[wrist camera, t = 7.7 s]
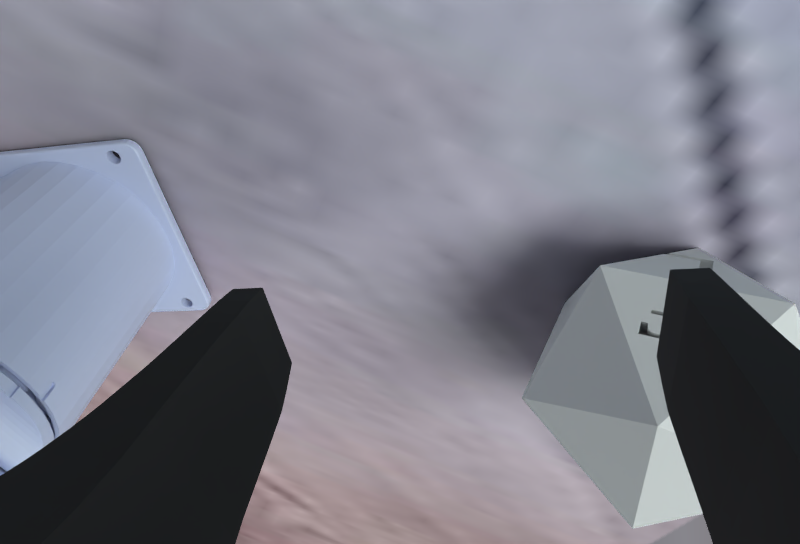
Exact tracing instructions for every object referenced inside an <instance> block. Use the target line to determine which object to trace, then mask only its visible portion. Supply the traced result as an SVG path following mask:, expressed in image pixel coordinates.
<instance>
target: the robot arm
mask: <svg viewBox="0 0 800 544" xmlns="http://www.w3.org/2000/svg"><path fill="white" fill-rule="evenodd" d="M112 151H115V152H116V153H118V154H119V156H120V158H121V159H120V158H118V157H116V156H115V155H114V154H113V152H112ZM186 298H187V299H189V300H191V301H189V300H187V299H186ZM210 303H211V296H210V294H209V292H208V290H207V287H206V285H205V283H204V281H203V279H202V277H201V274H200V272H199V270H198V268H197V266H196V264H195V262H194V259H193V257H192V255H191V253H190V251H189V249H188V247H187V244H186V242H185V240H184V238H183V236H182V234H181V231H180V229H179V227H178V225H177V223H176V221H175V219H174V216H173V214H172V212H171V210H170V208H169V206H168V203H167V201H166V199H165V197H164V195H163V193H162V191H161V188H160V186H159V184H158V182H157V180H156V178H155V176H154V173H153V171H152V169H151V167H150V165H149V163H148V160H147V158H146V156H145V154H144V152H143V150H142V148H141V147H140V146H139V145H138V144H137V143H136V142H134V141H132V140H129V139H120V140H111V141H101V142H92V143H82V144H72V145H63V146H53V147H43V148H34V149H24V150H14V151H5V152H0V544H235V543H236V539H237V536H238V533H239V530H240V527H241V524H242V520H243V517H244V515H245V512H246V509H247V506H248V504H249V501H250V498H251V495H252V493H253V490H254V487H255V484H256V482H257V479H258V476H259V473H260V471H261V468H262V465H263V462H264V460H265V457H266V454H267V451H268V449H269V446H270V443H271V440H272V437H273V435H274V432H275V429H276V426H277V423H278V420H279V417H280V414H281V411H282V407H283V403H284V399H285V394H286V390H287V385H288V380H289V375H290V370H291V365H292V362H291V360H290V357H289V354H288V352H287V349H286V347H285V344H284V342H283V339H282V336H281V334H280V331H279V329H278V326H277V324H276V321H275V319H274V316H273V313H272V311H271V308H270V306H269V303H268V301H267V298H266V295H265V293H264V290H263V288H248V289H233V290H231V291H230V292H229V293H228V294H226V295H225V296H224V297H223V298H222V299H220V300H219V301H218V302H217V303H216V304H215V305H214V306H213V307H211V308H210V309H209V310H208V311H207V312H206V313H205V314H204V315H203V316H201V317H200V318H199V319H198V320H197V321H196V322H195V323H194V324H193V325H192V326H191V327H189V328H188V329H187V330H186V331H185V332H184V333H183V334H182V335H181V336H180V337H178V338H177V339H176V340H175V341H174V342H173V343H172V344H171V345H170V346H169V347H167V348H166V349H165V350H164V351H163V352H162V353H161V354H160V355H159V356H157V357H156V358H155V359H154V360H153V361H152V362H151V363H150V364H149V365H147V366H146V367H145V368H144V369H143V370H142V371H140V372H139V373H138V374H137V375H136V376H134V377H133V378H132V379H131V380H130V381H128V382H127V383H126V384H125V385H124V386H122V387H121V388H120V389H119V390H118V391H116V392H115V393H114V394H113V395H112V396H110V397H109V398H108V399H107V400H106V401H105V402H103V403H102V404H101V405H100V406H98V407H97V408H96V409H95V410H93V411H92V412H91V413H90V414H88V415H87V416H86V417H84V418H83V419H82V420H80V421H79V422H78V423H76V421H77V420H78V418H79V417H80V416H81V414H82V413H83V411H84V410H85V408H86V407H87V405H88V404H89V402H90V401H91V399H92V398H93V396H94V395H95V393H96V392H97V391H98V389H99V388H100V386H101V385H102V383H103V382H104V380H105V379H106V377H107V376H108V374H109V373H110V371H111V370H112V368H113V367H114V366H115V364H116V363H117V361H118V360H119V358H120V357H121V355H122V354H123V352H124V351H125V349H126V348H127V346H128V345H129V343H130V342H131V341H132V339H133V338H134V336H135V335H136V333H137V332H138V330H139V329H140V327H141V326H142V324H143V323H144V321H145V320H146V319H147V317H148V316H149V314H150V313H151V312H164V311H190V310H204V309H206V308H208V306H209V305H210ZM657 362H658V367H659V372H660V377H661V382H662V387H663V392H664V396H665V401H666V405H667V410H668V413H669V416H670V419H671V422H672V425H673V428H674V431H675V434H676V437H677V440H678V443H679V446H680V449H681V452H682V455H683V458H684V460H685V463H686V466H687V469H688V472H689V475H690V478H691V481H692V483H693V486H694V489H695V492H696V495H697V498H698V501H699V504H700V507H701V509H702V512H703V515H704V518H705V521H706V524H707V527H708V530H709V532H710V535H711V539H712V542H713V544H800V350H799V349H798V348H797V347H795V346H794V345H793V344H792V343H791V342H790V341H789V340H787V339H786V338H785V337H784V336H783V335H782V334H781V333H780V332H779V331H777V330H776V329H775V328H774V327H773V326H772V325H771V324H770V323H769V322H768V321H766V320H765V319H764V318H763V317H762V316H761V315H760V314H759V313H758V312H757V311H756V310H755V309H754V308H752V307H751V306H750V305H749V304H748V303H747V302H746V301H745V300H744V299H743V298H742V297H741V296H740V295H739V294H738V293H737V292H736V291H735V290H733V289H732V288H731V287H730V286H729V285H728V284H727V283H726V282H725V281H724V280H723V279H722V278H721V277H720V276H719V275H717V274H716V273H715V272H714V271H713V270H712V269H711V268H694V269H671V270H670V273H669V279H668V285H667V292H666V298H665V305H664V311H663V318H662V324H661V331H660V337H659V344H658V350H657ZM75 423H76V424H75ZM74 424H75V425H74Z"/></svg>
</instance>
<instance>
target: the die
mask: <svg viewBox="0 0 800 544" xmlns="http://www.w3.org/2000/svg"><path fill="white" fill-rule="evenodd" d="M694 268H711V269H712V270H713V271H714V272H715V273H716V274H717V275H719V276H720V277H721V278H722V279H723V280H724V281H725V282H726V283H727V284H728V285H729V286H730V287H731V288H732V289H733V290H735V291H736V292H737V293H738V294H739V295H740V296H741V297H742V298H743V299H744V300H745V301H746V302H747V303H748V304H749V305H750V306H751V307H752V308H754V309H755V310H756V311H757V312H758V313H759V314H760V315H761V316H762V317H763V318H764V319H765V320H766V321H768V322H769V323H770V324H771V325H772V326H773V327H774V328H775V329H776V330H777V331H779V332H780V333H781V334H782V335H783V336H784V337H785V338H786V339H787V340H789V341H790V342H791V343H792V344H793V345H794V346H795V347H797V348H798V349H799V350H800V317H799V314H798V311H797V308H796V305H795V303H793V302H791V301H789V300H788V299H786V298H784V297H782V296H781V295H779V294H777V293H776V292H774V291H772V290H770V289H769V288H767V287H765V286H764V285H762V284H760V283H758V282H757V281H755V280H753V279H751V278H750V277H748V276H746V275H745V274H743V273H741V272H739V271H738V270H736V269H734V268H732V267H731V266H729V265H727V264H726V263H724V262H722V261H720V260H719V259H717V258H715V257H714V256H712V255H710V254H708V253H707V252H705V251H703V250H701V249H700V248H695V249H690V250H684V251H678V252H673V253H669V254H661V255H656V256H650V257H644V258H639V259H633V260H627V261H622V262H616V263H610V264H605V265H600V266H599V267H598V268H597V269H596V270H595V271H594V272H593V274H592V275H591V276H590V277H589V278H588V279H587V280H586V281H585V282H584V283H583V284H582V285H581V286H580V287H579V288H578V290H577V291H576V292H575V293H574V294H573V295H572V296H571V297H570V298H569V299H568V300H567V301H566V302H565V304H564V306H563V308H562V310H561V312H560V315H559V317H558V319H557V321H556V324H555V326H554V328H553V330H552V332H551V335H550V337H549V339H548V341H547V343H546V346H545V348H544V350H543V352H542V354H541V357H540V359H539V361H538V363H537V365H536V368H535V370H534V372H533V374H532V377H531V379H530V381H529V383H528V385H527V388H526V390H525V392H524V394H523V396H522V399H523V400H524V401H525V402H526V404H527V405H528V406H529V407H530V408H531V409H532V411H533V412H534V413H535V414H536V415H537V417H538V418H539V419H540V420H541V421H542V422H543V424H544V425H545V426H546V427H547V428H548V430H549V431H550V432H551V433H552V434H553V435H554V437H555V438H556V439H557V440H558V441H559V442H560V444H561V445H562V446H563V447H564V448H565V450H566V451H567V452H568V453H569V454H570V455H571V457H572V458H573V459H574V460H575V461H576V463H577V464H578V465H579V466H580V467H581V468H582V470H583V471H584V472H585V473H586V474H587V475H588V477H589V478H590V479H591V480H592V481H593V483H594V484H595V485H596V486H597V487H598V488H599V490H600V491H601V492H602V493H603V494H604V496H605V497H606V498H607V499H608V500H609V501H610V503H611V504H612V505H613V506H614V507H615V508H616V510H617V511H618V512H619V513H620V514H621V516H622V517H623V518H624V519H625V520H626V521H627V523H628V524H629V525H630V526H631V527H632V529H633V528H638V527H643V526H648V525H652V524H657V523H662V522H667V521H671V520H676V519H681V518H686V517H690V516H695V515H700V514H703V512H702V509H701V507H700V504H699V501H698V498H697V495H696V492H695V489H694V486H693V483H692V481H691V478H690V475H689V472H688V469H687V466H686V463H685V460H684V458H683V455H682V452H681V449H680V446H679V443H678V440H677V437H676V434H675V431H674V428H673V425H672V422H671V419H670V416H669V413H668V410H667V405H666V401H665V396H664V392H663V387H662V382H661V377H660V372H659V367H658V362H657V350H658V344H659V337H660V331H661V324H662V318H663V311H664V305H665V298H666V292H667V285H668V279H669V273H670V270H671V269H694Z"/></svg>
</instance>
